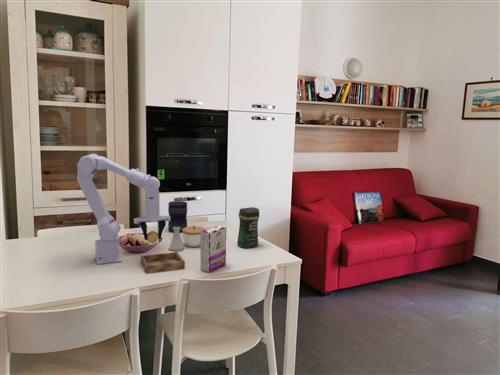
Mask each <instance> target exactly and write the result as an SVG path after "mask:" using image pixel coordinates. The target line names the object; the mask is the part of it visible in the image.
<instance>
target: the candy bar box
mask: <svg viewBox="0 0 500 375" xmlns="http://www.w3.org/2000/svg"><path fill="white" fill-rule="evenodd" d="M226 261H227V226H225V225H221V224H216V225H212V226H210V227H207V228H205V229H204V230H201V245H200V271H202V272H205V273H206V272H207V273H212V272H214V271H216V270H218V269H219V268H222V267H224V266H225V265H227V263H226Z"/></svg>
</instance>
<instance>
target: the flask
mask: <svg viewBox="0 0 500 375" xmlns="http://www.w3.org/2000/svg"><path fill="white" fill-rule="evenodd" d="M173 230H174V233H173V236H172V238H171V242H170V244H169V246H168V251H173V252H181V251H183V250H185V245H184V242H183V238H182V236H181V233H180V227H174V228H173Z"/></svg>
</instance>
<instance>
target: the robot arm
mask: <svg viewBox="0 0 500 375" xmlns="http://www.w3.org/2000/svg"><path fill="white" fill-rule="evenodd" d="M76 166H77V174H76V175H77V176H76V180H77V183H78V185H79V187H80V189H81V191H82V193H83V195H84V198H85V199H86V201H87V203H88V205H89V207H90V209H91V211H92V213H93V216H94V217H95V219H96V223H97V224H96V226H97V229H98V236H99V237H100V238H99V239H96V240H94V241H95V242H94V243H95V244H94V246H95V254H94V257H95V260H96V265H100V264H112V263H118V262H121V263H122V258H121V257H122V256H121V255H120V254H121V253H120V236H119V235H118V233H119V232H120V229H121V226H120V225H121V224H119V223H118V221H116V219H114V217H113V216H112V215H111V214H110V212H109V211H108V209H107V207H106V204H105V203H104V201H103V199H102V197H101V194H100V192H99V190H98V189H97V187H96V185H95V182H94V180H93V178H94V176H95V173H96V172H97V171H101V170H102V171H103V170H107V171H110V172H112V173H114V174H117V175H119V176H121V177H124V178H125V179H126V182H128V183H130V184H133V185H134V186H136V187H139V188H141V189H143V190H144V191H145V196H144V198H145V199H144V201H145V202H144V215H145V216H141V217H135V218H133V223H134V224H135V225H137V224H138V225H139V226H140V228H141V230H142V231H141V232H142V233H143V237H144V238H143V239H144V241H147V234H148V232H147V231H148V224H147V223H157V233H158V235H159V239H158V240H161V239H162V234H163V232H164V229H165V227H166V225H167V222H168V221H170V216H169V215H160V190H159V188H160V186H161V183H160V180H159V179H158V178H157V177H156V176H151V174H146V173H145V172H142V171H141V170H140V168H136V169H135V168H131V169H129V168H127V167H124V166H122V165H120V164H118V163H117V162H114V161H113V160H111V159H109V158H107V157H105V156H102V155H99V154H97V153H90V154H88V155H84V156H82V157H80V159H79V161H78V162H77V164H76Z"/></svg>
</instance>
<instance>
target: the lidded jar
mask: <svg viewBox="0 0 500 375" xmlns="http://www.w3.org/2000/svg"><path fill="white" fill-rule="evenodd" d="M204 229H206V228H205V227H203V226H198V225H197V226H196V225H191V226H187V227H185V228H183V229H182V232H183V233H182V241H184V242H183V243H185V244H186V246H187V247H189V248H198V247H201V230H204Z"/></svg>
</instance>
